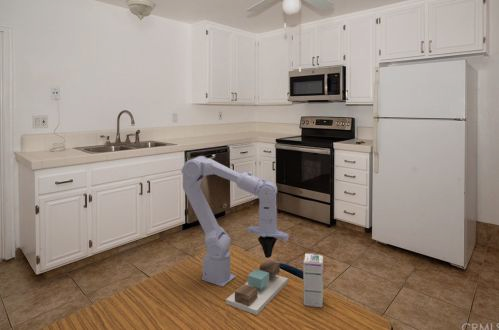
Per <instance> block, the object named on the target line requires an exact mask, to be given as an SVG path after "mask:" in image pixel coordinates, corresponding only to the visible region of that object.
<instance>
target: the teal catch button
mask: <svg viewBox="0 0 499 330" xmlns="http://www.w3.org/2000/svg"><path fill="white" fill-rule="evenodd" d="M247 281H248V285H251V286H254V287H257V288H260V289H262V288H263V287H264V286H265V285H266V284H267V283H268V282H269V273H268V272H265V271H261V270H260V269H257V268H255V269H254V270H253V271H252V272H250V273H249V274H248V275H247Z"/></svg>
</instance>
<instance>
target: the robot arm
mask: <svg viewBox="0 0 499 330" xmlns="http://www.w3.org/2000/svg"><path fill="white" fill-rule="evenodd" d="M180 173H182V174H181V175H182V189H183V191H184V193H185V195H186V197H187V200H188V201H189V203H190V205H191V207H192V209H193V212H194V213H195V216H196V217H197V220H198V222H199V224H200V226H201V228H202V231H203V232H204V243H205V246H206V253H205V255H204V256H203V258H202V277H201V280H203V281H204V282H208V283H210V284H214V285H217V286H219V287H224V286H226V285H227V284H229V283H230V282H231V281H232V280H234V279H235V278H236V276H237V275H236V274H233V273H231V252H230V250H229V249H230V247H231V245H232V239H231V236H230V234H228V233H227V232H226V231H225V229H224V228H223V227H222V226H220V225H219V224H218V221H217V219H216V217H215V215H214V213H213V210H212V209H211V207H210V205H209V203H208V200H207V199H206V196H205V195H204V192H203V191H202V187H201V183H202V181H203V178H204V177H206V176H210V175H216V176H218V177H220V178H222V179H226V180H229V181H231V182H233V183H235V184H236V186H237V188H239V189H240V190H243V191H244V192H247V193H249V194H252V195H254V196H257V198H258V199H259V204H258V211H259V212H258V221H259V222H258V224H259V225H258V226H254V225H251V226H249V227H248V229H247V231H248V234H254V235H259V237H258V238H257V241H258V243H259V245H261V248H262V251H263V253H264V254H263V255H264V258H267V259H270V258H271V257H272V254H273V250H274V248H275V244H276V243H277V240H278V239H279V240H283V242H288V240H289V239H290V233H288V232H287V233H286V232H284V231H281V230H279V229H278V228H277V227H278V226H277V225H278V223H277V214H278V213H277V209H278V208H277V193H278V187H277V184H276V183H275V182H273V180H270V179H267V180H266V178H260V177H257V176H256V175H253V172H251V171H248V172H247V171H244V172H241V173H240V172H238V171H236V170H234V169H231V168H229V167H228V166H225V165H224V164H223V163H222V164H221V163H220V162H218V161H216V160H214V159H213V158H208V157H206V156H204V155H199V156H196V157H195V158H192V159H189V160H187V161H185V162H184V164H183V166H182V169H181V172H180Z"/></svg>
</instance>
